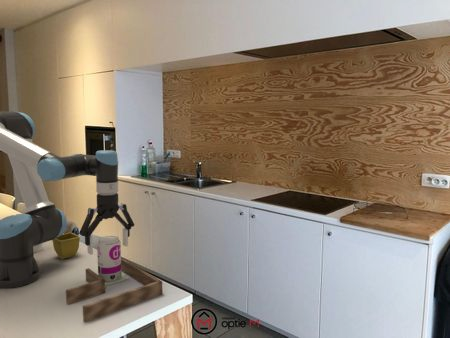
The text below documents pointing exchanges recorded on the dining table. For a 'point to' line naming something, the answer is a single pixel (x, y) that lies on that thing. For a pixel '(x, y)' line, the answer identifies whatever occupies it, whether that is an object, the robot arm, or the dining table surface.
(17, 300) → the dining table surface
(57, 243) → the flower pot
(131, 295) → the channel walls
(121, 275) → the pad
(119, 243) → the supplement can
